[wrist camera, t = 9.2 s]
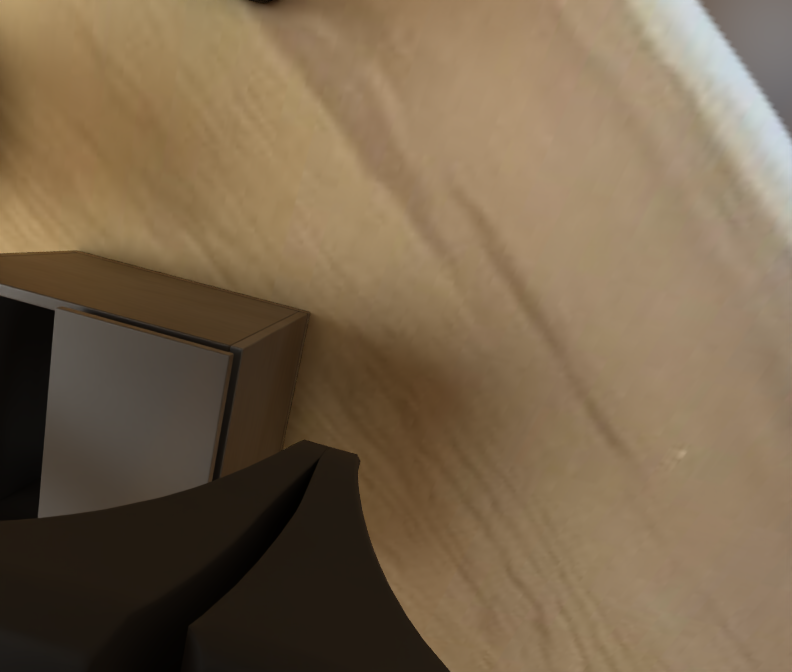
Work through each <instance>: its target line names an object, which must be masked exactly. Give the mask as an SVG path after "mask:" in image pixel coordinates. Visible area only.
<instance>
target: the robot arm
mask: <svg viewBox="0 0 792 672" xmlns="http://www.w3.org/2000/svg"><path fill="white" fill-rule="evenodd" d="M359 465H360V459H359V457H358V455H357V454H353V453H350V452H346V451H343V450H339V449H335V448H332V447H328V446H325V445H321V444H317V443H314V442H310V441H307V440H303V441H300V442H298V443H296V444H294V445H292V446H290V447H288V448H286V449H284V450H282V451H280V452H278V453H276V454H274V455H272V456H270V457H268V458H266V459H264V460H261V461H259V462H257V463H255V464H253V465H251V466H249V467H246V468H244V469H241V470H239V471H236V472H234V473H231V474H229V475H226V476H224V477H222V478H219V479H217V480H214V481H212V482H209V483H206V484H203V485H200V486H197V487H194V488H191V489H188V490H184V491H181V492H177V493H174V494H170V495H167V496H163V497H159V498H156V499H151V500H146V501H141V502H137V503H132V504H127V505H122V506H117V507H113V508H108V509H102V510H97V511H90V512H83V513H76V514H69V515H61V516H52V517H43V518H34V519H23V520H9V521H0V672H450V671H449V670H448V668H447V667H446V666H445V665H444V664H443V662H442V661H441V660H440V659H439V658H438V657H437V655H436V654H435V653H434V652H433V651H432V650H431V648H430V647H429V646H428V645H427V644H426V642H425V641H424V640H423V638H422V637H421V636H420V634H419V633H418V631H417V630H416V629H415V627H414V626H413V624H412V623H411V621H410V620H409V619H408V617H407V616H406V614H405V612H404V610H403V609H402V607H401V605H400V603H399V602H398V600H397V598H396V596H395V595H394V593H393V591H392V590H391V588H390V586H389V584H388V582H387V580H386V577H385V575H384V573H383V571H382V569H381V567H380V564H379V562H378V559H377V557H376V554H375V552H374V549H373V546H372V543H371V540H370V537H369V534H368V531H367V527H366V523H365V520H364V515H363V511H362V506H361V500H360V494H359V486H358V469H359Z"/></svg>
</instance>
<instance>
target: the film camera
mask: <svg viewBox="0 0 792 672" xmlns="http://www.w3.org/2000/svg"><path fill="white" fill-rule="evenodd" d="M251 1H255V2H260V3H266V2H269V1H272V0H251Z"/></svg>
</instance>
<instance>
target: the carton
mask: <svg viewBox="0 0 792 672" xmlns="http://www.w3.org/2000/svg"><path fill="white" fill-rule="evenodd" d="M57 307H67V308H71V309H74V310H78V311H82V312H85V313H89V314H92V315H96V316H100V317H103V318H107V319H110V320H114V321H118V322H121V323H125V324H129V325H132V326H136V327H139V328H143V329H147V330H150V331H154V332H157V333H161V334H165V335H168V336H172V337H176V338H179V339H183V340H186V341H190V342H194V343H197V344H201V345H204V346H208V347H212V348H215V349H219V350H223V351H226V352H230V353H233V354H234V357H233V362H232V368H231V374H230V380H229V386H228V391H227V397H226V403H225V409H224V415H223V420H222V426H221V432H220V438H219V443H218V449H217V455H216V461H215V467H214V472H213V478H212V481H214V480H217V479H219V478H222V477H224V476H226V475H229V474H231V473H234V472H236V471H239V470H241V469H244V468H246V467H249V466H251V465H253V464H255V463H257V462H259V461H261V460H264V459H266V458H268V457H270V456H272V455H274V454H276V453H278V452H280V451H282V447H283V442H284V437H285V433H286V428H287V423H288V418H289V413H290V408H291V403H292V399H293V394H294V389H295V384H296V379H297V374H298V370H299V365H300V360H301V355H302V350H303V345H304V340H305V336H306V331H307V326H308V321H309V316H310V312H307V311H303V310H299V309H296V308H292V307H288V306H284V305H281V304H277V303H273V302H269V301H265V300H262V299H258V298H254V297H250V296H246V295H243V294H239V293H235V292H231V291H227V290H224V289H220V288H216V287H212V286H208V285H205V284H201V283H197V282H193V281H190V280H186V279H182V278H178V277H174V276H171V275H167V274H163V273H159V272H155V271H152V270H148V269H144V268H140V267H136V266H133V265H129V264H125V263H121V262H118V261H114V260H110V259H106V258H102V257H99V256H95V255H91V254H87V253H83V252H80V251H53V252H27V253H2V254H0V521H9V520H23V519H34V518H38V510H39V498H40V486H41V474H42V462H43V450H44V438H45V426H46V413H47V401H48V389H49V377H50V365H51V353H52V341H53V329H54V317H55V308H57Z"/></svg>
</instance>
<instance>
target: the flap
mask: <svg viewBox="0 0 792 672" xmlns="http://www.w3.org/2000/svg"><path fill="white" fill-rule="evenodd" d="M233 357H234V354H233V353H230V352H226V351H223V350H219V349H215V348H212V347H208V346H204V345H201V344H197V343H194V342H190V341H186V340H183V339H179V338H176V337H172V336H168V335H165V334H161V333H157V332H154V331H150V330H147V329H143V328H139V327H136V326H132V325H129V324H125V323H121V322H118V321H114V320H110V319H107V318H103V317H100V316H96V315H92V314H89V313H85V312H82V311H78V310H74V309H71V308H67V307H57V308H55V317H54V329H53V341H52V353H51V365H50V377H49V389H48V401H47V413H46V426H45V438H44V450H43V462H42V474H41V486H40V498H39V510H38V518H43V517H52V516H61V515H69V514H76V513H83V512H90V511H97V510H102V509H108V508H113V507H117V506H122V505H127V504H132V503H137V502H141V501H146V500H151V499H156V498H159V497H163V496H167V495H170V494H174V493H177V492H181V491H184V490H188V489H191V488H194V487H197V486H200V485H203V484H206V483H209V482H212V478H213V472H214V467H215V461H216V455H217V449H218V443H219V438H220V432H221V426H222V420H223V415H224V409H225V403H226V397H227V391H228V386H229V380H230V374H231V368H232V362H233Z"/></svg>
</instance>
